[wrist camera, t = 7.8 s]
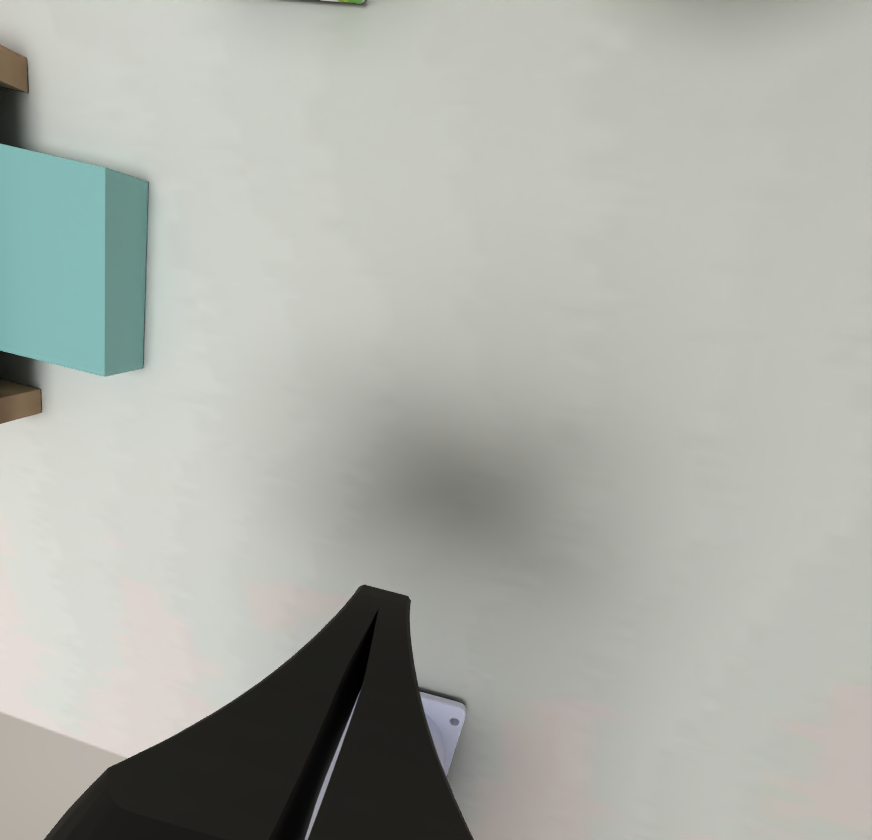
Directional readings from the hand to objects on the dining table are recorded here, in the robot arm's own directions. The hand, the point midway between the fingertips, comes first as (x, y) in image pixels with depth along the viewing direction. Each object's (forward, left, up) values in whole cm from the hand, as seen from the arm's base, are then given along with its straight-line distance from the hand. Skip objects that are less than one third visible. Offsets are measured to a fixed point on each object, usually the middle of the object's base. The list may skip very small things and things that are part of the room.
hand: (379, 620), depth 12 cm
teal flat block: (+6, +20, -9) cm, 23 cm away
